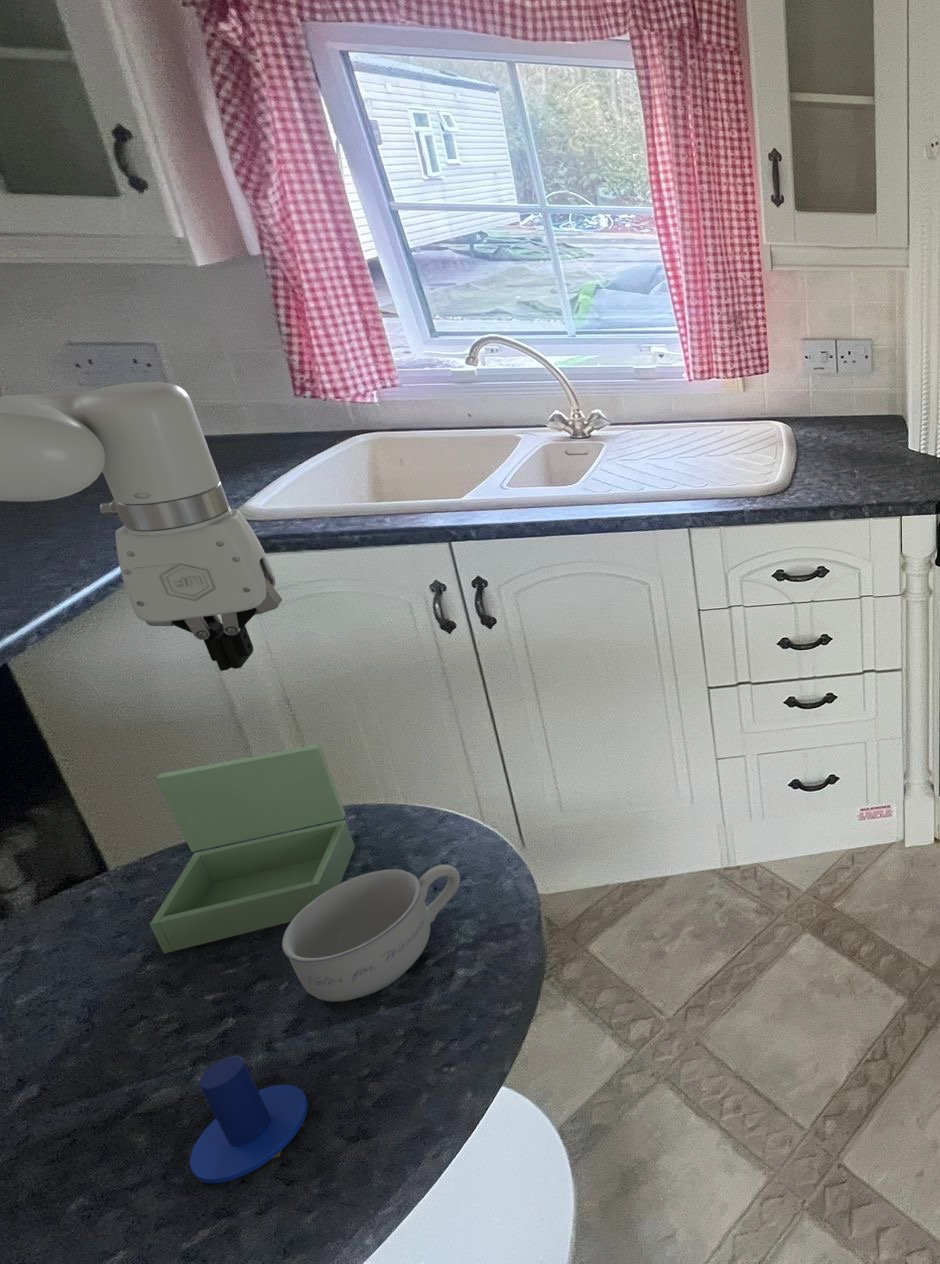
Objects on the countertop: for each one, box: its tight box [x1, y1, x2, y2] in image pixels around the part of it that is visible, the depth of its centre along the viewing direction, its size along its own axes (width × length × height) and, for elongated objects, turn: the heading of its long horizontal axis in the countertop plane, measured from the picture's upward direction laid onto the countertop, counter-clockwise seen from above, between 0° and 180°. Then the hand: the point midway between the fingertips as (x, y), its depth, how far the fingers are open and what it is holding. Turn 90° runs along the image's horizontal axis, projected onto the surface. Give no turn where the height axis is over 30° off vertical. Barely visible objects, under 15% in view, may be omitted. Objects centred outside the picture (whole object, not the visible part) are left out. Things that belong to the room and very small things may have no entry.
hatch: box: [156, 743, 346, 853], centre depth 89 cm, size 10×13×1 cm
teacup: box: [281, 864, 461, 1002], centre depth 82 cm, size 14×11×8 cm
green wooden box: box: [149, 819, 356, 954], centre depth 88 cm, size 10×13×5 cm
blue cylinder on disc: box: [189, 1055, 309, 1184], centre depth 66 cm, size 7×7×8 cm
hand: (236, 662), depth 88 cm, fingers closed
